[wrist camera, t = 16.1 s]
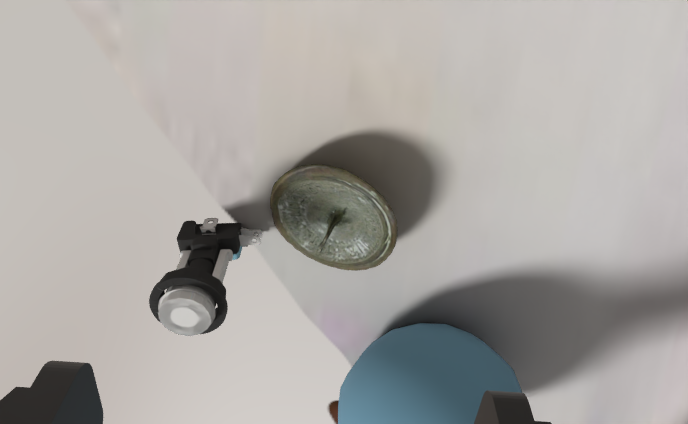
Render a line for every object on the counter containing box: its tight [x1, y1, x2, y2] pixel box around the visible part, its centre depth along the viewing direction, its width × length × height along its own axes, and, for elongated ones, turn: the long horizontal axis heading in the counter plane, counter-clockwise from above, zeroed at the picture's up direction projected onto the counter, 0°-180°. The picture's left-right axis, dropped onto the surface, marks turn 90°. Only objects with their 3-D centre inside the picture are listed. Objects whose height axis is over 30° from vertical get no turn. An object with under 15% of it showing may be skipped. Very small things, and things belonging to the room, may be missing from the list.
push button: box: [149, 218, 262, 336], centre depth 42 cm, size 7×5×10 cm
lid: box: [270, 164, 398, 270], centre depth 43 cm, size 11×10×5 cm
